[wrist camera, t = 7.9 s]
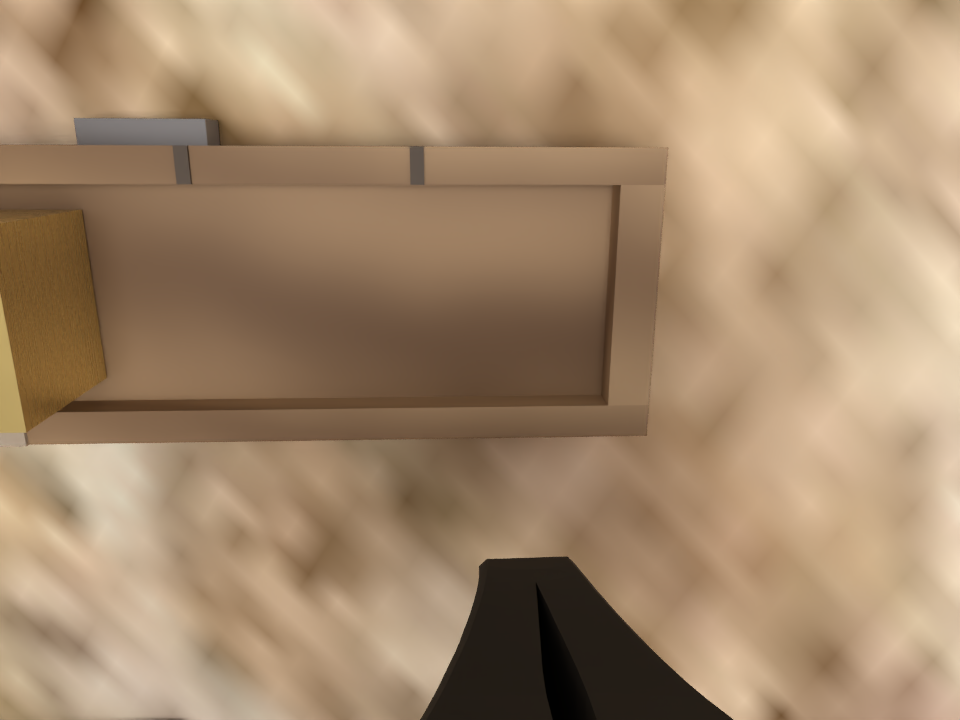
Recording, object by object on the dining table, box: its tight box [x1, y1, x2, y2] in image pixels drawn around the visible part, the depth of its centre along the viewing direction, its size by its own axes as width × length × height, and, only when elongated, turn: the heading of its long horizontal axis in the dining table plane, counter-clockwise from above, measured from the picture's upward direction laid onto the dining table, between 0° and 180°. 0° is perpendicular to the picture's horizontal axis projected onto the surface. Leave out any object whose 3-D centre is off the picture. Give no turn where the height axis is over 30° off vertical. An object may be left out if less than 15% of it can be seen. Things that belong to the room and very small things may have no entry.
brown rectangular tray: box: [0, 118, 668, 447], centre depth 17 cm, size 8×24×3 cm, turn 90°
